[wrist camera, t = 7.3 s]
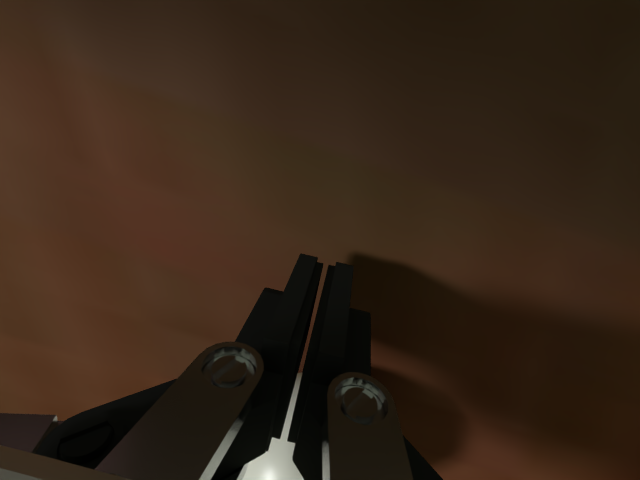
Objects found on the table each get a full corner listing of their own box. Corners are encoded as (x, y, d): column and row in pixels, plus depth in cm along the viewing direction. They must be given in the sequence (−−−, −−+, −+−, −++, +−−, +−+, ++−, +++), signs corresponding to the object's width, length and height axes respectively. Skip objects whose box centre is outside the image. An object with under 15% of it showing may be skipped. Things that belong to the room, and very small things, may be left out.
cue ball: (198, 623, 9) (240, 467, 15) (400, 627, 9) (366, 472, 15) (207, 429, 9) (246, 344, 14) (418, 439, 9) (376, 351, 14)
